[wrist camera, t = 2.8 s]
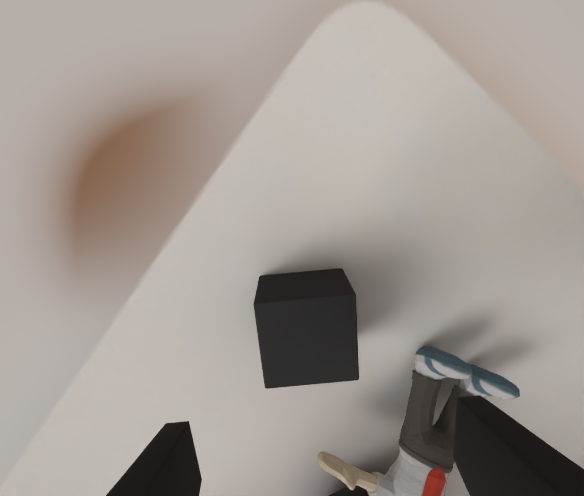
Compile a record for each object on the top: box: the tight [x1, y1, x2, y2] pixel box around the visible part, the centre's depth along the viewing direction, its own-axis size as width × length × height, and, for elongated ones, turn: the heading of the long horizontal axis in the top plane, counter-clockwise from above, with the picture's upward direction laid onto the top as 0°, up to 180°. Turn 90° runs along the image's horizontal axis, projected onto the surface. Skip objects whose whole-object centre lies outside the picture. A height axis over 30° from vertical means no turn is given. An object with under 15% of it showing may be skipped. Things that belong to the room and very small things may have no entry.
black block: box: [254, 269, 359, 388], centre depth 14 cm, size 4×4×3 cm
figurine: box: [318, 347, 520, 496], centre depth 16 cm, size 10×7×15 cm
